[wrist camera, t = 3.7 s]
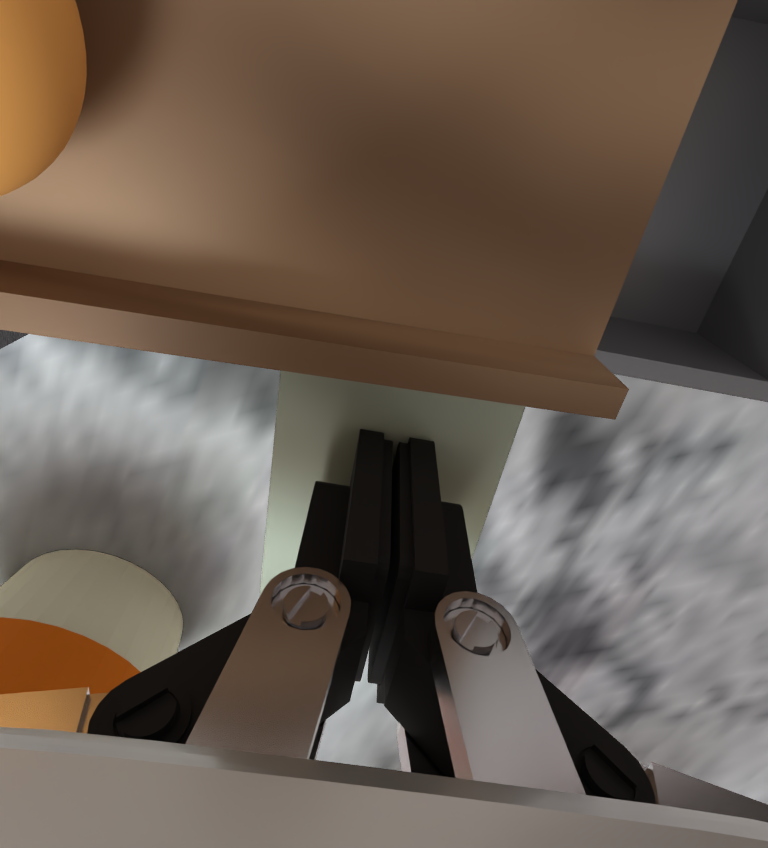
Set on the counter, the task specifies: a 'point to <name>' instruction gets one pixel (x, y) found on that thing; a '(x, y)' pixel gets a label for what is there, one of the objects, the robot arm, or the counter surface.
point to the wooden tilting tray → (364, 211)
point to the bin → (707, 238)
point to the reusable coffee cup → (83, 623)
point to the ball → (38, 85)
